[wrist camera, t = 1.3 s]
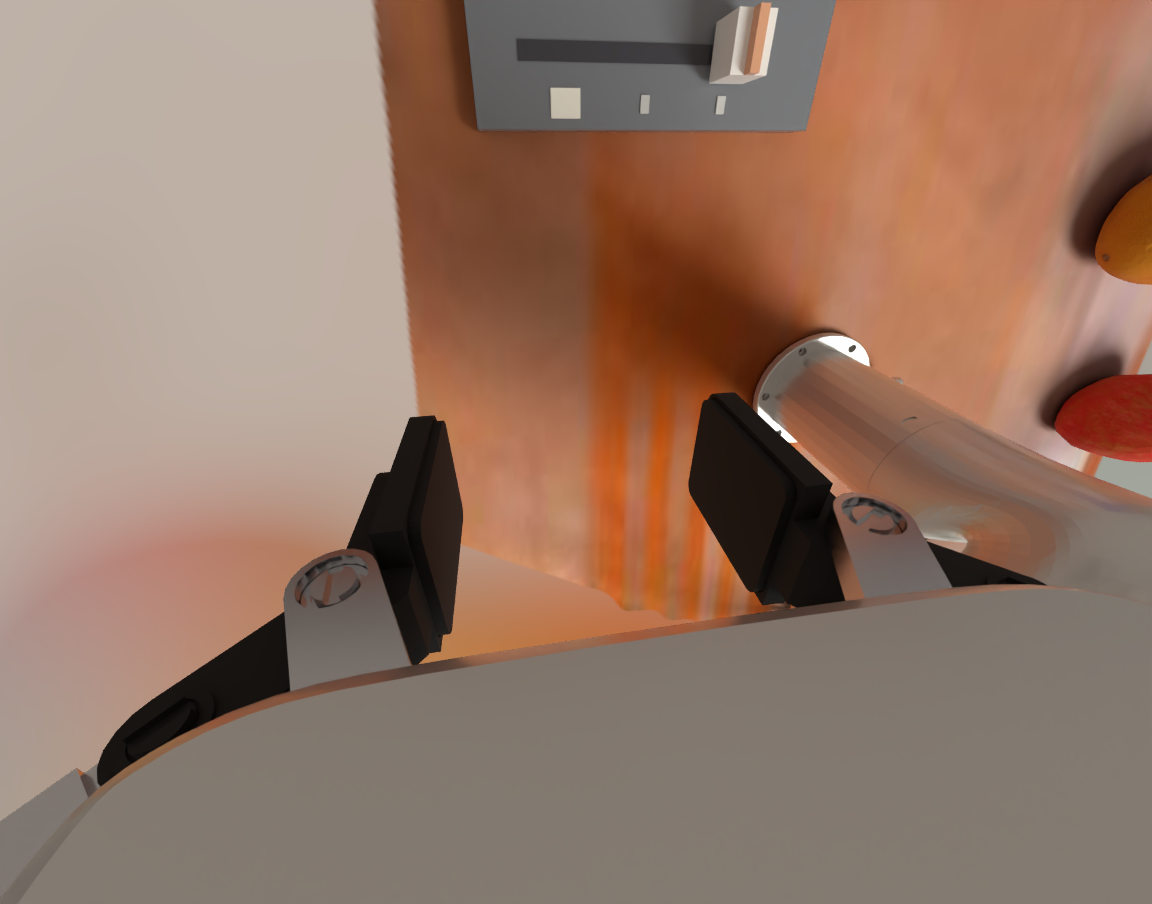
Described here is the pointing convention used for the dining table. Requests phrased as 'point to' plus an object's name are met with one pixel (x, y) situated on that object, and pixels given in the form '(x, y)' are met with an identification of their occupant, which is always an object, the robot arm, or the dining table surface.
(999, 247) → the dining table surface
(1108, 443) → the apple
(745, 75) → the fader
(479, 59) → the console
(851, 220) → the dining table surface
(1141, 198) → the fruit
